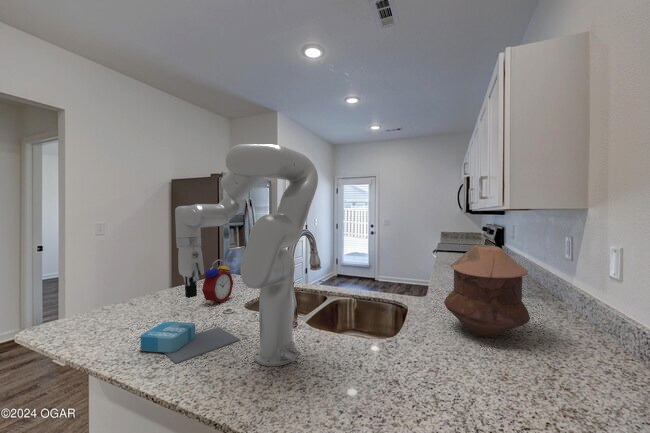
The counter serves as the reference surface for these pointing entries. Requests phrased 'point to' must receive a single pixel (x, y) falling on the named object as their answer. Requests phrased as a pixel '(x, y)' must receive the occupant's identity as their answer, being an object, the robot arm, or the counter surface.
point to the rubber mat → (203, 344)
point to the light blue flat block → (168, 337)
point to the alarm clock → (217, 284)
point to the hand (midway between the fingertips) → (191, 296)
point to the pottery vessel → (487, 291)
